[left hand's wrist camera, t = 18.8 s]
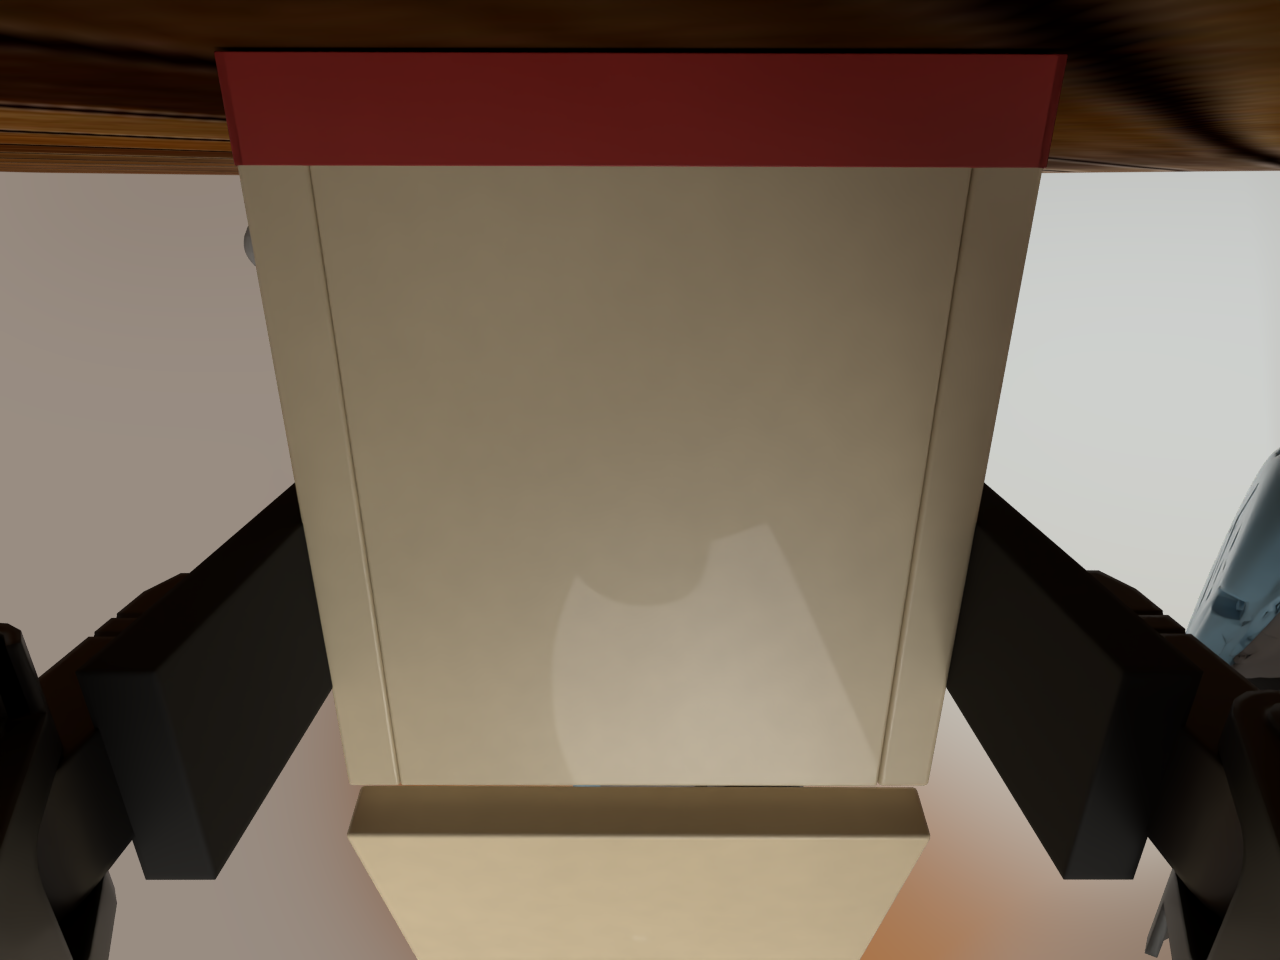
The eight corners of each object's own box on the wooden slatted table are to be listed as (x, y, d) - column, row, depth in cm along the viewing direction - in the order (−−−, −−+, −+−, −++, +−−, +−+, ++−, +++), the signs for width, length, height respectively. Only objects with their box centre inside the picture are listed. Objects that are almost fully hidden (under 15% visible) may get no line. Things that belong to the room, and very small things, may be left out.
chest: (782, 145, 24) (762, 444, 28) (498, 144, 24) (516, 443, 28) (1068, 54, 8) (930, 788, 12) (213, 50, 8) (347, 786, 12)
